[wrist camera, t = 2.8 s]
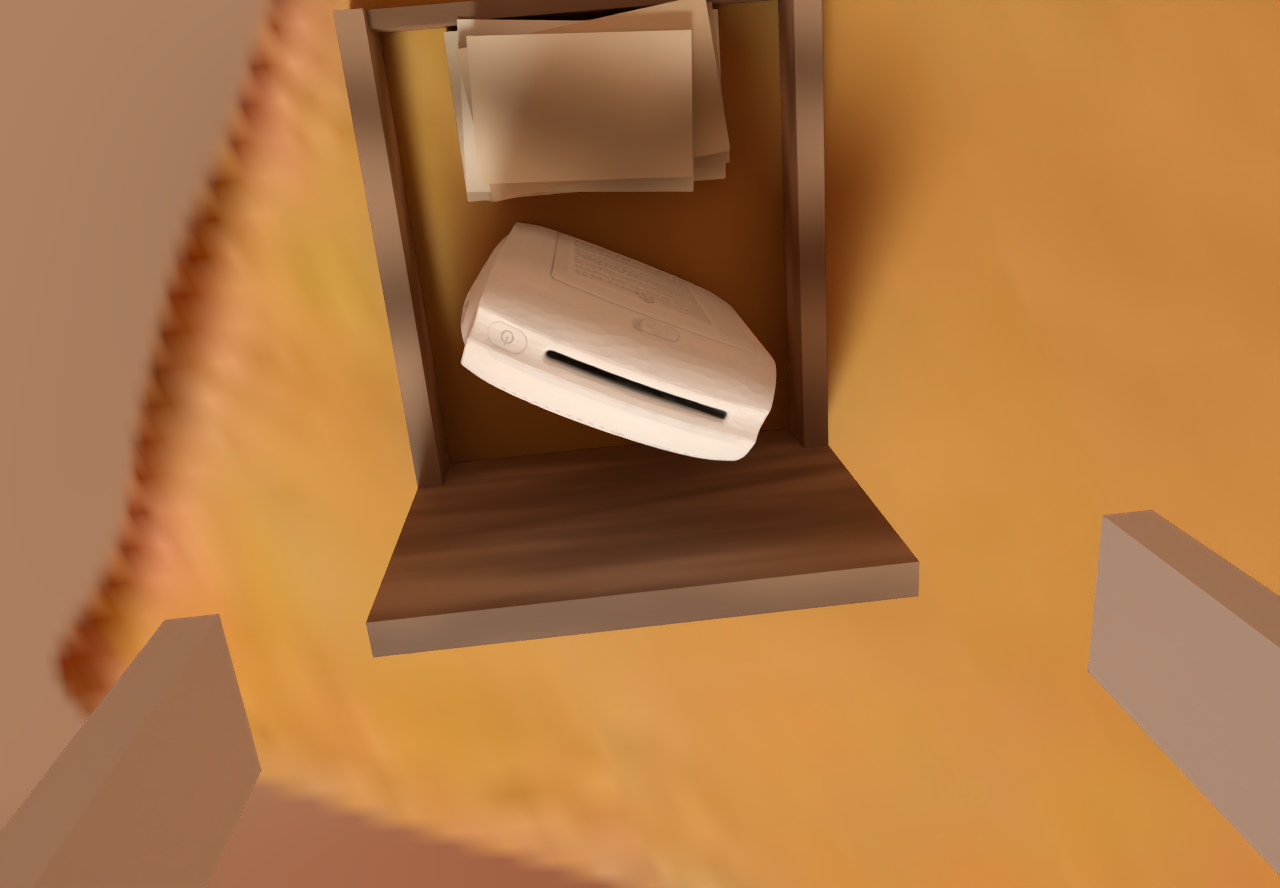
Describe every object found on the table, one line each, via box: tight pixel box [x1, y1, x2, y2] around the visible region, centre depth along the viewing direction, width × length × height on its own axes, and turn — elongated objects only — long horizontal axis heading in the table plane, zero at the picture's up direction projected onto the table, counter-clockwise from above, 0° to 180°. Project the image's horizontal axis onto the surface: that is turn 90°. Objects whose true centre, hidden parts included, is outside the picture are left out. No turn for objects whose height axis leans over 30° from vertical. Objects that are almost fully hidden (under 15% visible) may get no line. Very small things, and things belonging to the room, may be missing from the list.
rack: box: [333, 0, 919, 657], centre depth 31 cm, size 19×17×13 cm
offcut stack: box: [444, 0, 730, 202], centre depth 34 cm, size 7×10×4 cm, turn 95°
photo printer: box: [461, 222, 776, 461], centre depth 32 cm, size 10×4×12 cm, turn 68°
